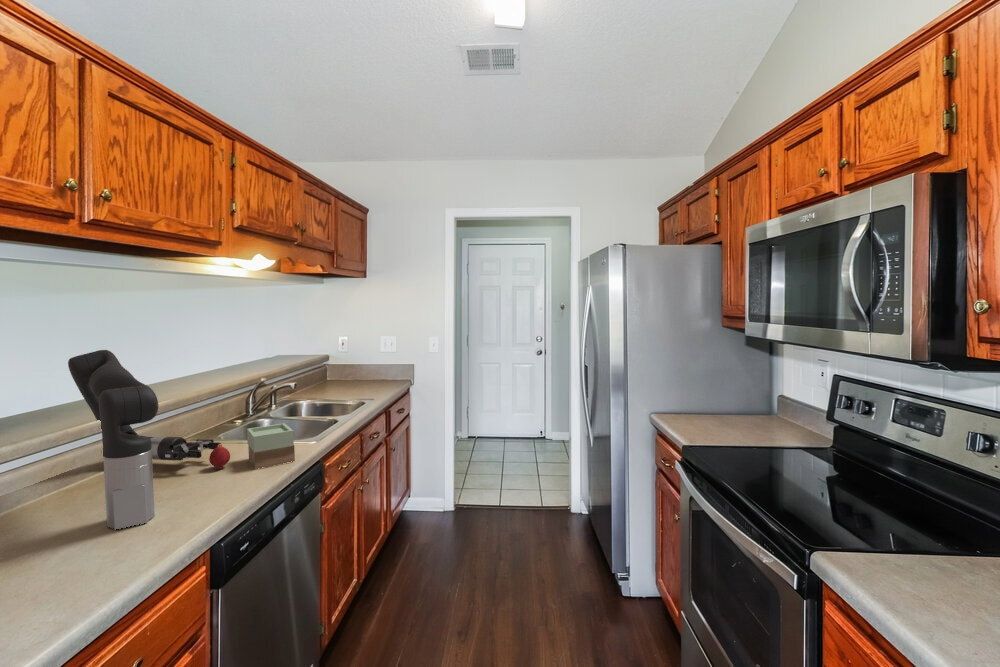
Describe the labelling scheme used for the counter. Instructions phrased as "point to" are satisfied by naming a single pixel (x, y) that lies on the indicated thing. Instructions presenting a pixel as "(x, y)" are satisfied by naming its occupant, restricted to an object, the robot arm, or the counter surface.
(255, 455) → the tower base
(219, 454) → the onion
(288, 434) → the tower top
